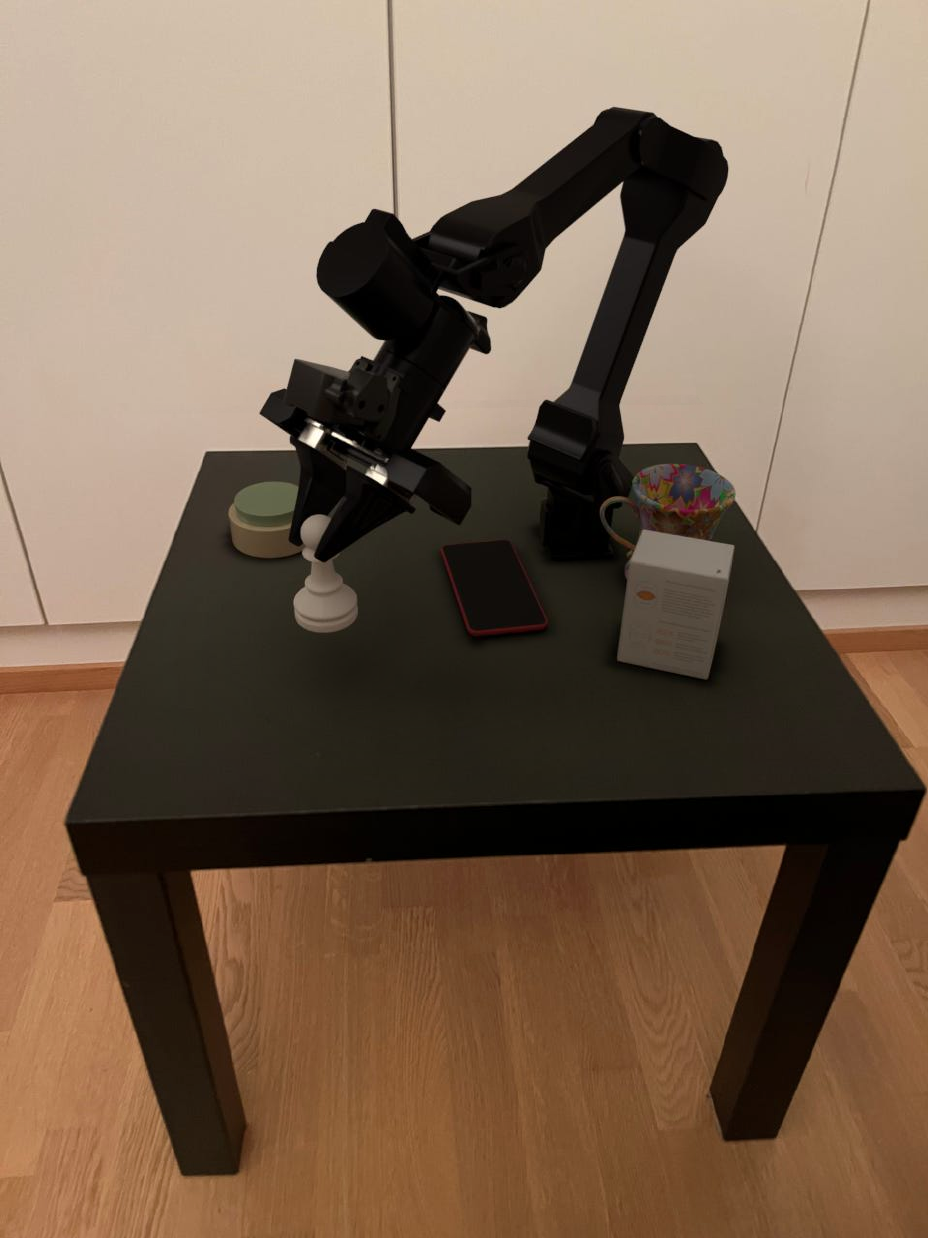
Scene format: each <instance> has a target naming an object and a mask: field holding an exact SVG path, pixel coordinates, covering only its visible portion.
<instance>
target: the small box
mask: <svg viewBox="0 0 928 1238" xmlns="http://www.w3.org/2000/svg"><path fill="white" fill-rule="evenodd" d="M638 538H639V539H637V542H636V545H635V546H636V547H635V550H634V552H633V555H632V557H631V560H630V563H629V571H628V579H626V588H625V594H624V602H623V609H622V615H621V616H622V618H621V624H620V632H619V633H620V634H619V640H618V647H617V656H616V661H617V662H621V663H626V664H630V665H634V666H639V667H644V668H649V669H652V670H653V669H654V670H658V671H663V672H667V673H671V674H672V673H673V674H675V675H676V674H677V675H682V676H686V677H691V678H696V679H701V680H705V681H706V680H708V679H709V676H710V672H711V667H712V665H713V664H712V663H713V659H714V655H715V652H716V651H715V650H716V646H717V642H718V638H719V637H718V636H719V632H720V627H721V622H722V617H723V613H724V608H725V603H726V597H727V592H728V587H729V582H730V577H731V572H732V564H733V560H734V555H735V554H734V553H735V545H734V544H729V543H723V542H717V541H712V540H711V541H707V540H701V539H695V538H689V537H684V536H678V535H672V534H667V533H661V532H655V531H650V530H642V532H641V534H640V537H639V536H638Z"/></svg>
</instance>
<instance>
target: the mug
mask: <svg viewBox="0 0 928 1238" xmlns="http://www.w3.org/2000/svg"><path fill="white" fill-rule="evenodd" d="M632 490H633V493H634V496H635V500H636V503H635V502H634V501H633V500H631V499H630V498H629V497H628V498H626V497H621V496H617V497H612V498H609V499H608V500H606V501H605V502H604V503H603V504H602V506H601V508H600V518H601V521H602V524H603V525H604V527H605V529H606V530H607V532H608V533H609V534H610V537H611V538H613V540H615V541H616V542H618V543H619V544H620V545H622V546H623V547H625V548H628V549H629V551H628V552H626V557H627V559H628V560H627V562H626V564H625V566H624V576H625V579H626V580H627V579H628V571H629V563H630V560H631V557H632V555H633V552H634V550H635V547H636V545H635V544H633V543H632V542H630V541H628V540H626V539H624V538H623V537H621V536H620V535H618V534H617V533H616V532H615V531H614V530H613V529H612V527H611V528H610V527H609V525H608V523H607V522H606V519H605V516H604V512H605V509H606V508H607V506H609V505H610V504H612V503H615V502H622V504H626V505H628V506H629V507H630V508H632V510H633V512H634V515H635V519H636V520H639V531H638V539H639V537H640V534H641V532H642V530H650V531H655V532H661V533H667V534H672V535H678V536H684V537H689V538H695V539H701V540H707V541H712V540H713V537H714V534H715V531H716V529H717V527H718V525H719V523H720V521H721V520H722V518H723V516H724V515H725V513H726V512H727V510H728V509H729V508H730V507H731V506H732V504H733V503H734V501H735V500H736V489H735V487H734V485H733V484H732V483H731V482H730V480H728V478H726V477H725V476H723V475H721V474H720V473H718V472H715V471H713V470H710V469H708V468H705V467H701V466H698V465H692V464H685V463H661V464H655V465H651V466H648V467H645V468H643V469H641V470H640V471H639V472H637V473H636V474H635V475H634V479H633V482H632ZM638 539H637V540H638Z"/></svg>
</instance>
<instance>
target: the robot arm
mask: <svg viewBox="0 0 928 1238" xmlns="http://www.w3.org/2000/svg"><path fill="white" fill-rule="evenodd" d="M728 177H729V162H728V160H727V158H726V156H724V152H723V147H722V145H721V144H720V143H719V141H717V140H716V139H712V138H706V137H699V136H694V135H691V134H689V133H687V132H685V131H683V130H681V129H679V128H676V127H674V126H672V125H671V124H669V123H668V122H667V121H665V120H664V119H663V118H661V117H659V116H657V115H656V114H655V113H654V112H653V111H652V112H651V111H646V110H645V111H644V110H638V109H631V108H627V107H626V108H624V107H620V106H619V107H618V106H612V107H610V108H606V109H603V110H602V111H601V112H600V113H599V114H598V115H597V116H596V117H595V119H594V122H593V123H592V125H590V127H588V128H587V129H586V130H584V131H583V132H582V133H580V134H579V135H578V136H577V137H575V138H574V139H572V140H571V142H569V143H568V144H567V145H566V146H564V147H563V148H561V150H559V151H558V152H557V153H556V154H554V155H553V156H552V157H550V158H549V159H547V160H546V161H545V162H544V163H543V164H541V165H540V166H539V167H537V169H535V170H533V172H532V173H530V174H528V175H527V176H526V177H525V178H524V179H523V180H521V181H519V183H517V184H516V185H515V186H514V187H513V188H511V189H509V190H507V191H505V192H503V193H501V194H498V195H492V196H488V197H484V198H481V199H476V200H471V201H470V202H467V203H465V204H463V205H462V206H459V207H458V208H456V209H454V210H452V211H449V212H448V213H446V214H443V215H442V216H440V218H439V219H438V220H436V222H435V223H434V224H433V225H432V226H431V228H430V230H429V231H426V232H424V233H422V234H420V235H418V236H415V237H413V238H412V237H411V236H410V235H409V234H408V232H407V231H406V228H405V227H404V224H403V223H402V222H401V220H400V219H399V218H398V217H397V216H396V215H395V213H392V212H389V211H386V210H382V209H379V208H372V209H371V210H370V212H369V213H368V215H367V217H366V218H365V220H364V221H362V222H358V223H356V224H353V225H351V226H349V227H347V228H345V229H344V230H343V231H342V232H340V233H339V234H338V235H336V237H335V238H334V239H333V240H331V241H328V242H327V243H326V245H325V247H324V249H323V250H322V252H321V254H320V257H319V259H318V262H317V265H316V275H315V277H316V283H317V285H318V287H319V289H320V291H322V293H323V294H325V295H326V296H327V297H328V298H329V299H330V300H331V301H332V302H333V303H334V304H335V305H337V306H338V308H340V309H341V310H342V311H343V312H344V313H346V315H348V316H349V317H350V318H351V319H352V320H353V321H354V322H355V323H356V324H358V326H359V327H361V328H362V329H363V330H364V331H365V332H366V333H367V334H368V335H370V337H372V338H373V339H375V340H379V341H383V342H382V344H381V346H380V348H379V349H378V351H377V352H376V355H375V356H374V358H373V359H370V358H368V357H365V356H364V355H361V356H360V358H357V359H355V360H354V362H353V364H352V366H350V369H349V370H345V369H340V368H337V367H334V366H330V365H325V364H320V363H317V362H314V361H313V362H312V361H308V360H304V359H300V358H294V359H293V363H292V367H291V371H290V373H289V374H290V375H289V378H288V382H287V385H286V388H281V389H277V390H275V391H272V392H270V394H269V395H268V398H267V399H266V401H265V402H264V404H263V406H262V407H261V409H260V411H259V412H258V414H259V415H260V416H261V417H263V418H264V419H266V420H268V421H269V422H270V423H272V424H273V425H274V426H276V427H278V428H279V429H280V430H282V431H284V432H285V433H286V434H288V435H289V444H290V445H292V447H294V449H295V452H296V455H297V459H298V462H299V466H300V468H299V480H298V493H297V498H296V503H295V508H294V513H293V518H292V523H291V528H290V533H289V538H288V540H289V542H290V543H292V544H294V545H295V546H297V547H299V546H301V545H302V544H303V541H302V539H301V527H302V525H303V523H304V521H305V520H306V519H307V518H309V517H311V516H313V515H325V516H328V517H329V515H330V514H331V512H332V511H333V510H334V509H335V507H336V506H337V505H338V506H337V508H336V510H335V512H334V513H333V515H332V517H331V521H330V522H329V524H328V526H327V528H326V530H325V532H324V533H323V535H322V537H321V539H320V542H319V544H318V546H317V549H316V551H315V553H314V557H315V558H316V559H317V560H319V561H321V562H323V563H324V562H327V561H328V560H330V559H331V558H332V557H334V556H335V555H337V554H338V553H341V552H343V551H344V550H346V549H347V548H348V547H350V546H351V545H353V544H354V543H356V542H357V541H359V540H360V539H362V538H363V537H365V536H366V535H367V534H369V533H371V532H372V531H374V530H376V529H377V528H379V527H381V526H382V525H384V524H386V523H388V522H389V521H392V520H393V519H395V518H396V517H398V516H400V515H402V514H404V513H408V514H411V515H413V514H414V513H415V512H416V511H417V508H416V507H415V506H413V505H412V504H413V502H414V500H415V499H416V497H418V498H420V499H421V500H423V501H424V502H425V503H427V505H428V506H429V511H431V512H432V513H434V514H435V515H438V516H440V517H441V518H443V519H445V520H447V521H449V522H450V523H453V524H455V525H456V526H461V525H462V523H463V522H464V519H465V518H466V516H467V514H468V513H469V511H470V509H471V508H472V497H473V496H472V495H473V493H472V486H470V485H469V484H467V483H466V482H465V481H464V480H463V479H461V478H460V477H459V476H457V475H456V474H455V473H454V472H453V471H452V470H450V469H449V468H447V466H445V465H444V464H442V463H441V462H440V461H438V460H436V459H433V458H432V457H429V456H427V455H425V454H423V453H421V452H419V451H417V450H415V449H413V446H414V444H415V443H416V441H417V439H418V438H419V436H420V434H421V433H422V431H423V429H424V427H425V426H426V424H427V422H428V421H429V419H431V420H434V421H436V422H438V423H441V421H442V419H443V417H444V415H445V413H446V412H447V410H446V409H445V408H444V407H443V406H442V405H441V404H439V402H440V400H441V398H442V396H443V395H444V393H445V392H446V390H447V388H448V386H449V385H450V383H451V382H452V379H453V378H454V376H455V374H456V373H457V371H458V369H459V368H460V366H461V364H462V362H463V361H464V359H465V358H466V356H467V354H468V352H469V351H470V350H473V351H476V352H478V353H481V354H483V355H489V354H491V351H492V340H491V336H490V334H489V330H488V318H487V316H485V315H482V314H479V313H476V312H473V311H470V310H466V308H465V307H464V306H463V305H462V304H461V303H460V302H459V301H458V300H457V299H455V298H454V297H452V296H448V295H443V294H438V290H440V291H443V292H446V293H449V294H452V295H453V296H454V295H455V296H457V297H461V298H463V299H466V300H469V301H473V302H476V303H478V304H482V305H485V306H488V307H491V308H495V309H496V308H497V309H499V310H501V309H505V308H506V307H508V306H509V305H511V304H513V303H514V302H515V301H516V300H517V299H518V298H519V297H520V296H521V294H522V293H523V292H524V291H525V290H526V289H527V287H528V286H529V285H530V284H531V283H532V282H533V281H534V279H535V278H536V277H537V276H538V275H539V273H540V272H541V271H542V268H543V264H544V259H545V254H546V250H547V248H548V247H549V246H550V245H551V244H552V243H553V242H554V241H555V239H557V238H558V237H560V236H561V234H563V233H564V232H565V231H566V230H567V229H569V228H570V227H572V225H573V224H575V223H576V222H578V220H579V219H580V218H582V217H583V216H584V215H585V214H586V213H588V212H589V211H590V210H591V209H593V208H594V207H595V206H596V205H597V204H599V203H600V202H601V201H602V200H603V199H604V198H606V197H607V196H608V195H609V194H610V193H612V192H613V191H614V190H615V189H617V187H619V186H620V185H621V189H620V193H619V200H620V206H621V213H622V219H623V225H624V233H623V236H622V240H621V243H620V244H619V247H618V251H617V252H616V256H615V259H614V262H613V264H612V267H611V269H610V273H609V276H608V278H607V281H606V284H605V287H604V290H603V293H602V296H601V298H600V301H599V304H598V307H597V309H596V311H595V312H596V313H595V316H594V318H593V320H592V324H591V326H590V329H589V333H588V335H587V338H586V341H585V343H584V346H583V349H582V351H581V355H580V358H579V360H578V363H577V365H576V368H575V371H574V374H573V377H572V380H571V382H570V385H569V387H568V388H567V389H566V390H565V391H564V392H562V393H561V394H560V395H559V396H557V398H556V399H555V400H554V401H552V400H550V399H544V400H543V401H542V403H541V404H540V405H539V407H538V411H537V415H536V419H535V422H534V424H533V427H532V429H531V431H530V433H529V434H528V436H527V437H526V438H527V440H528V446H527V452H526V453H527V454H526V457H527V459H528V460H529V464H530V467H531V471H532V474H533V479H534V483H536V484H538V485H542V486H544V487H546V488H547V491H546V492H547V493H546V497H545V498H544V497H543V498H542V499H541V501H540V511H539V526H538V534H539V537H540V540H541V543H542V545H543V546H544V547H546V549H547V550H546V551H547V553H548V555H549V558H550V559H551V560H555V561H557V560H560V561H561V560H578V559H579V560H580V559H583V560H584V559H598V558H599V559H604V558H612V557H613V556H614V549H613V547H612V545H611V543H610V541H611V535H610V534H609V533H608V532H607V530H606V529H605V527H604V525H603V524H602V521H601V518H600V508H601V506H602V504H603V503H604V502H605V501H606V500H608V499H609V498H612V497H617V496H621V497H626V498H628V499H629V496H630V494H631V491H632V489H633V487H632V482H633V479H634V477H635V475H633V473H632V472H631V471H630V470H629V469H628V468H627V466H626V465H625V464H624V463H623V462H622V461H621V459H620V456H621V451H622V447H623V445H624V441H625V432H624V426H623V419H622V414H621V408H620V407H621V406H620V405H621V401H622V398H623V396H624V393H625V390H626V387H627V385H628V383H629V380H630V377H631V374H632V371H633V369H634V366H635V365H636V361H637V358H638V357H639V356H638V355H639V353H640V350H641V349H642V345H643V343H644V339H645V337H646V334H647V332H648V329H649V326H650V323H651V320H652V318H653V315H654V314H655V313H654V312H655V310H656V308H657V306H658V305H657V304H658V301H659V300H660V297H661V294H662V291H663V288H664V285H665V282H666V281H667V279H668V275H669V273H670V271H671V267H672V264H673V261H674V259H675V256H676V254H677V252H678V250H679V249H680V248H681V247H682V246H684V245H685V243H687V241H689V240H690V239H691V238H692V237H694V236H695V234H696V233H697V232H699V231H700V230H701V229H702V228H703V227H704V226H705V225H706V224H707V222H708V220H709V218H710V216H711V214H712V213H713V212H712V211H713V210H714V208H715V205H716V203H717V201H718V199H719V197H720V196H721V195H722V193H723V191H724V189H725V187H726V185H727V181H728ZM347 459H350V460H352V461H353V462H356V463H357V464H360V465H362V466H364V467H365V468H367V469H366V471H365V472H362V471H360V470H358V469H356V468H354V467H353V466H350V465H348V460H347ZM346 464H347V465H346ZM345 466H346V467H345ZM622 507H623V502H615V503H612V504H610V505H609V506H607V508H606V509H605V512H604V516H605V519H606V522H607V523H608V525H609V527H610V528H611V529H612V525H613V524H612V523H613V515H614V510H615V509H620V508H622Z"/></svg>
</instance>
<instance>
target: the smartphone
mask: <svg viewBox="0 0 928 1238" xmlns="http://www.w3.org/2000/svg"><path fill="white" fill-rule="evenodd" d="M440 553H441V557H442V559H443V562H444V565H445V568H446V570H447V571H446V572H447V574H448V577H449V579H450V584H451V586H452V588H453V591H454V595H455V597H456V600H457V603H458V606H459V609H460V612H461V615H462V618H463V621H464V624H465V627H466V630H467V632H468V634H470V635H471V636H473V637H477V638H478V637H488V636H497V635H507V634H517V633H527V632H535V631H536V632H537V631H541V630H544V629H545V628H546V627H547V626H548V617H547V616H546V614H545V612H544V610H543V608H542V605H541V603H540V600H539V598H538V596H537V594H536V592H535V590H534V588H533V585H532V583H531V581H530V579H529V577H528V574H527V572H526V571H525V568H524V566H523V563H522V561H521V560H520V557H519V555H518V553H517V551H516V549H515V546H514V544H513V542H512V541H510V540H507V539H495V540H482V541H472V542H460V543H449V544H444V545H443V546H442V547H441V548H440Z"/></svg>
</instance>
